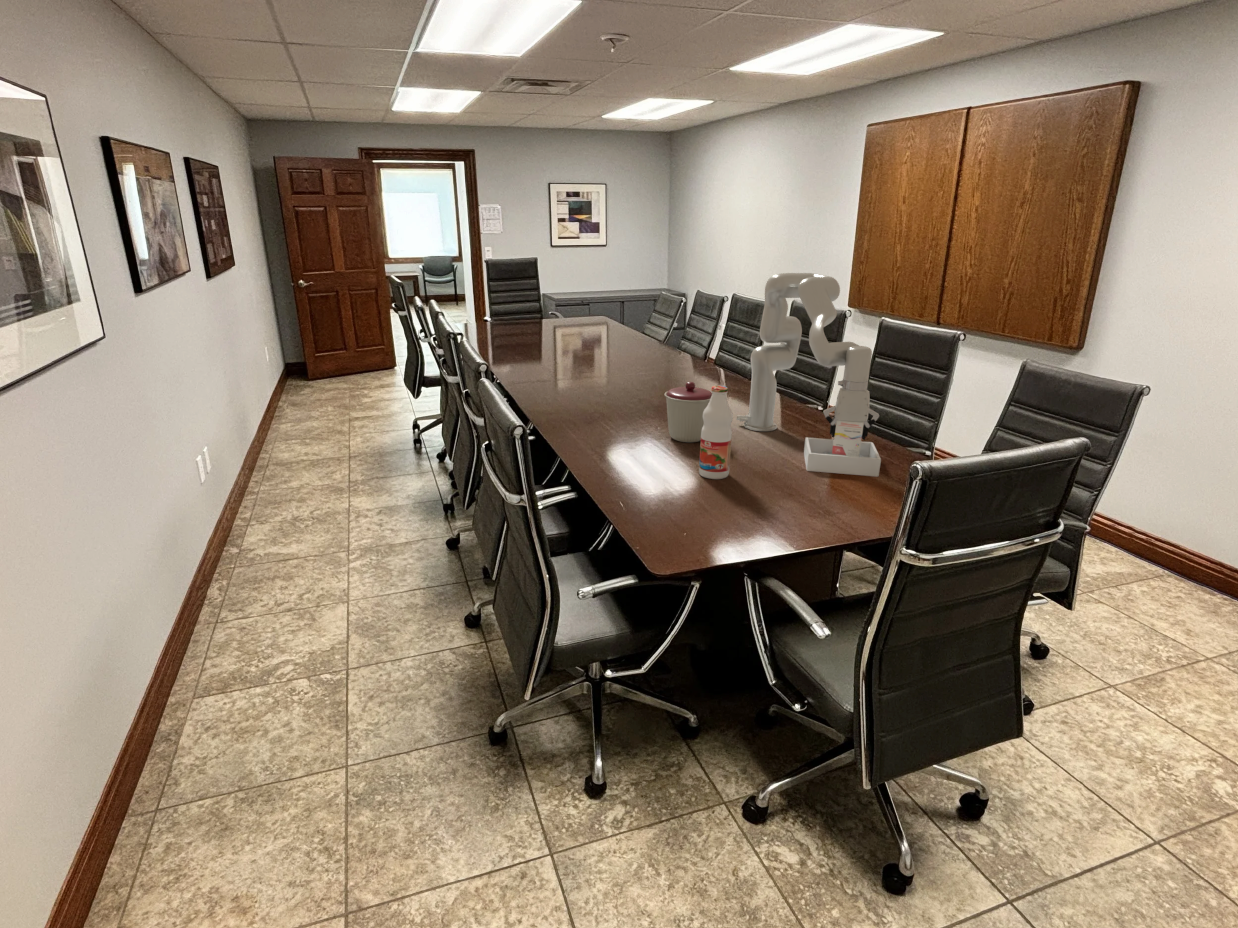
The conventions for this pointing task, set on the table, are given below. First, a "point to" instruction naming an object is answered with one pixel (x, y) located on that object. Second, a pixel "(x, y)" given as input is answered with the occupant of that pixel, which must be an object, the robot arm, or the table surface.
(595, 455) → the table surface
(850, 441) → the ink cartridge box
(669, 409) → the canister
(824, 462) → the tray
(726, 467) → the fruit juice
